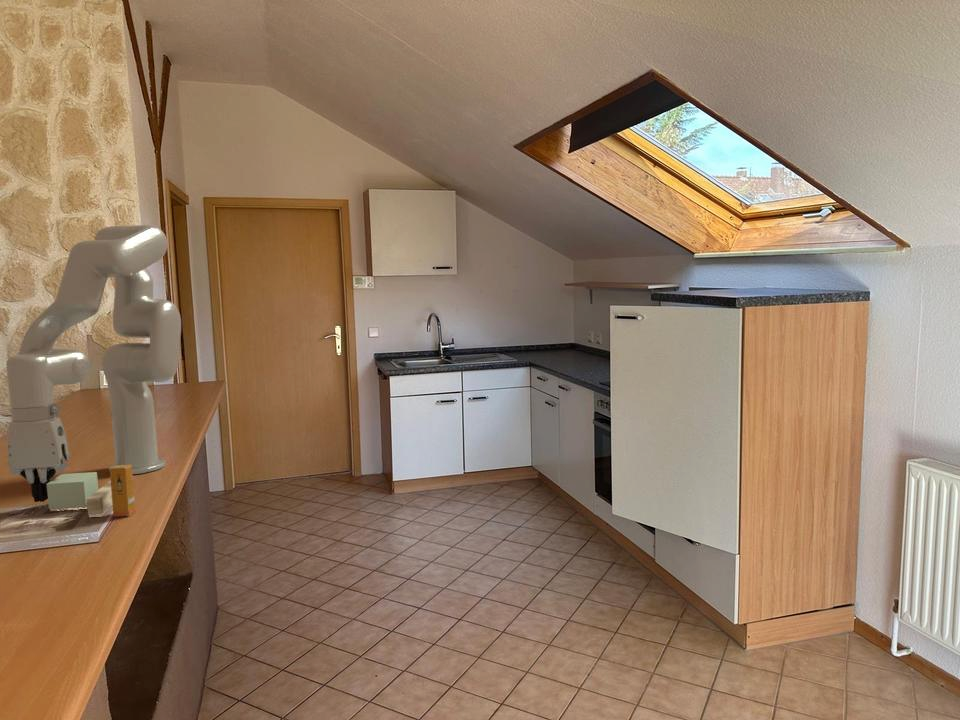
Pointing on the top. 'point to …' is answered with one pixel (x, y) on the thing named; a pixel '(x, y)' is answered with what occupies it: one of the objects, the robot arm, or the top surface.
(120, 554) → the top surface
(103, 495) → the birch board
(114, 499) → the supplement box
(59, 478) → the green block
